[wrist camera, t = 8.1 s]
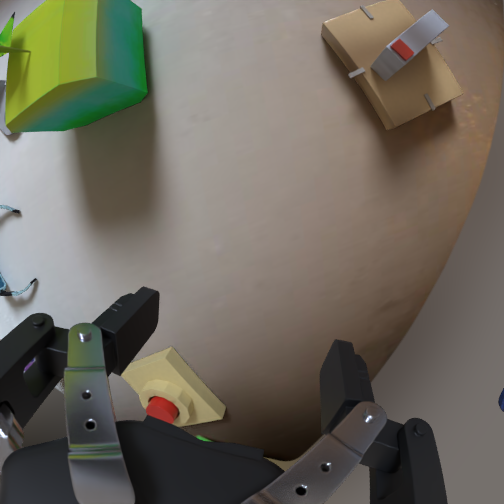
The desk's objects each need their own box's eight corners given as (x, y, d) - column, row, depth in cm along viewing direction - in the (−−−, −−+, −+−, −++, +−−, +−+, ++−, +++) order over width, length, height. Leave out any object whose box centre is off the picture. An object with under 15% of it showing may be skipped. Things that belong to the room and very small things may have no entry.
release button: (184, 412, 29) (179, 423, 28) (164, 416, 30) (159, 426, 29) (165, 393, 28) (159, 403, 27) (146, 398, 30) (140, 407, 28)
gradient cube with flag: (150, 15, 19) (51, -48, 5) (157, 96, 22) (28, 61, 8) (71, 56, 21) (-30, 37, 7) (74, 131, 24) (-43, 139, 10)
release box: (226, 406, 32) (219, 429, 29) (177, 417, 35) (168, 436, 31) (172, 346, 30) (158, 367, 27) (127, 364, 33) (112, 382, 29)
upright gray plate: (411, 30, 14) (433, 7, 10) (426, 44, 14) (450, 24, 10) (369, 66, 16) (386, 45, 12) (385, 81, 16) (406, 63, 12)
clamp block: (458, 95, 17) (473, 91, 15) (376, 136, 20) (385, 134, 18) (397, 5, 15) (405, -7, 13) (309, 38, 18) (310, 26, 16)
